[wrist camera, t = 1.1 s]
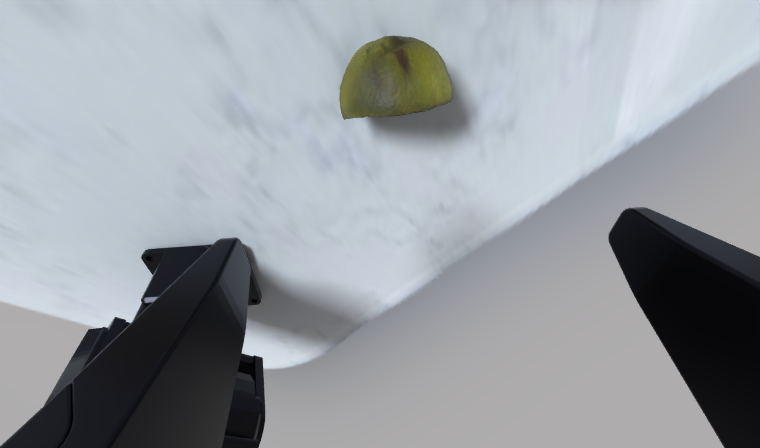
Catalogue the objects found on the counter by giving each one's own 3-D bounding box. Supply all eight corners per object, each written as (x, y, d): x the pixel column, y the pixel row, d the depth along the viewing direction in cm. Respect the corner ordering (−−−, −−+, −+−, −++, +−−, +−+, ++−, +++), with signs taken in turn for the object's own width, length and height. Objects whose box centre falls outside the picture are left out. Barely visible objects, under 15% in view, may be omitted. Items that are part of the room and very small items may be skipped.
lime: (450, 70, 17) (483, 111, 13) (381, 133, 19) (393, 185, 15) (393, -7, 15) (413, 19, 11) (319, 75, 17) (316, 120, 13)
